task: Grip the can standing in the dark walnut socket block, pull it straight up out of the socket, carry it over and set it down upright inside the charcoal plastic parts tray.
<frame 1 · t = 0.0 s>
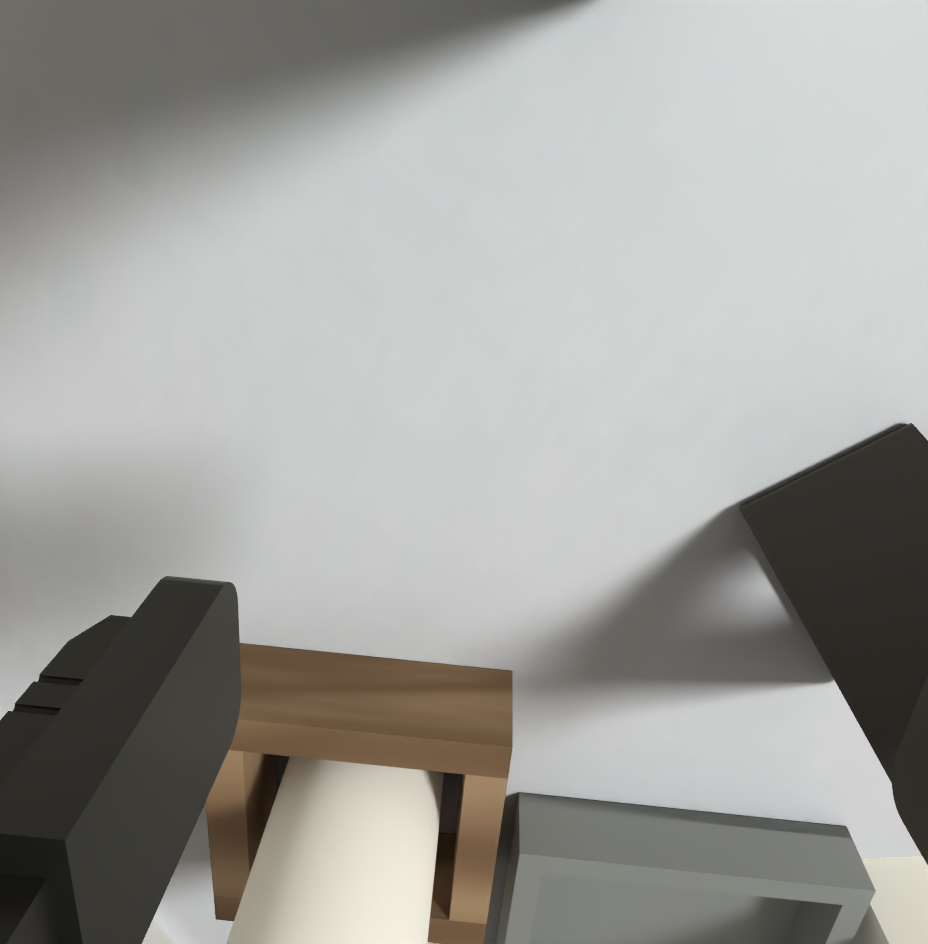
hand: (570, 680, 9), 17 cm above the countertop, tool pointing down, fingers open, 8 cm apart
phone stand: (866, 557, 28), on the countertop
parts tray: (651, 915, 37), on the countertop
can: (369, 755, 33), resting in socket block
socket block: (369, 759, 33), on the countertop
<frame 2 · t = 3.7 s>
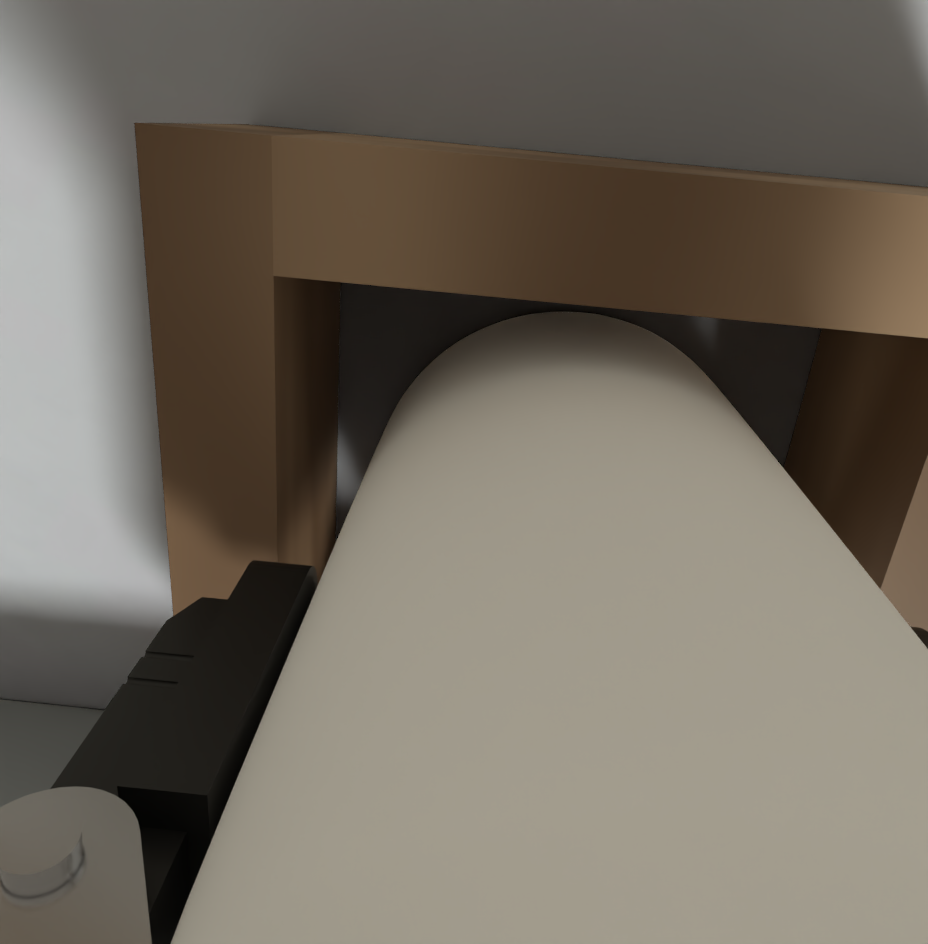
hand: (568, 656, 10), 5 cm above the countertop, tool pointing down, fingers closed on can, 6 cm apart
parts tray: (170, 931, 20), on the countertop
can: (554, 476, 15), resting in socket block, touching gripper
socket block: (554, 480, 14), on the countertop
when the fingers open (7 cm above the countertop, at t = 12.5 s): can stays where it is, resting on parts tray.
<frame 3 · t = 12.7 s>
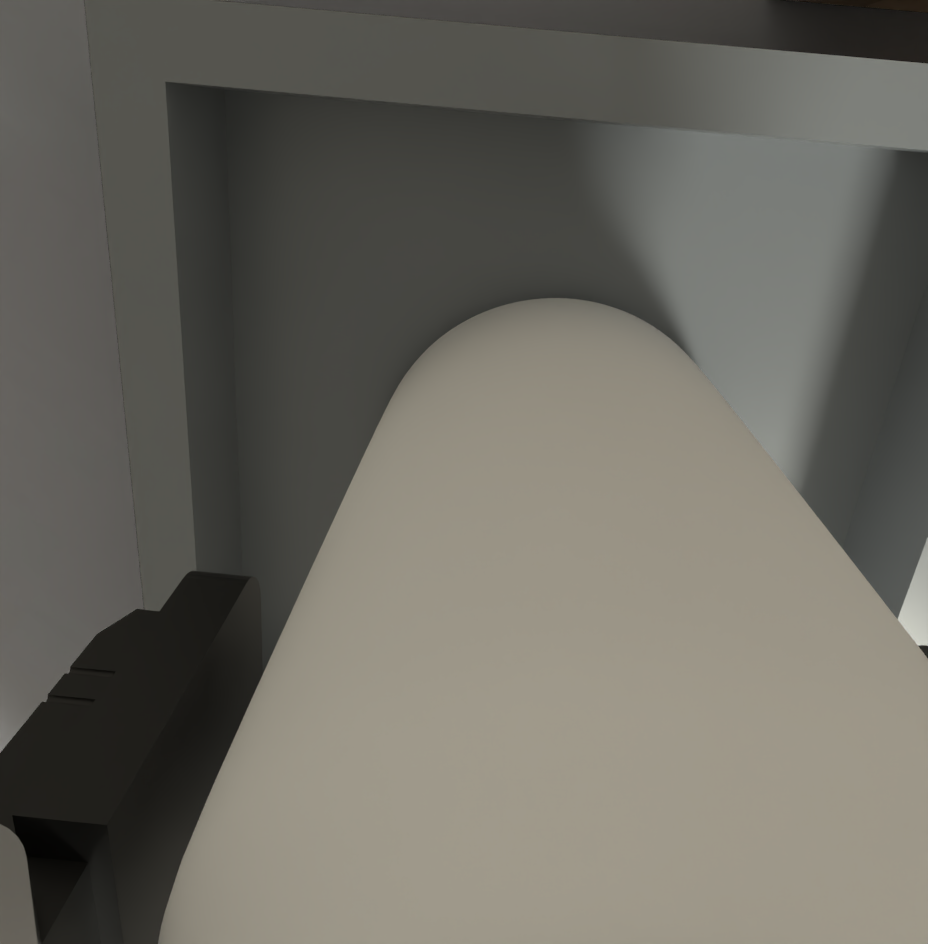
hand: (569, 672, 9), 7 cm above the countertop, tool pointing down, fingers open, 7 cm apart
parts tray: (545, 451, 16), on the countertop
can: (547, 457, 15), resting on parts tray
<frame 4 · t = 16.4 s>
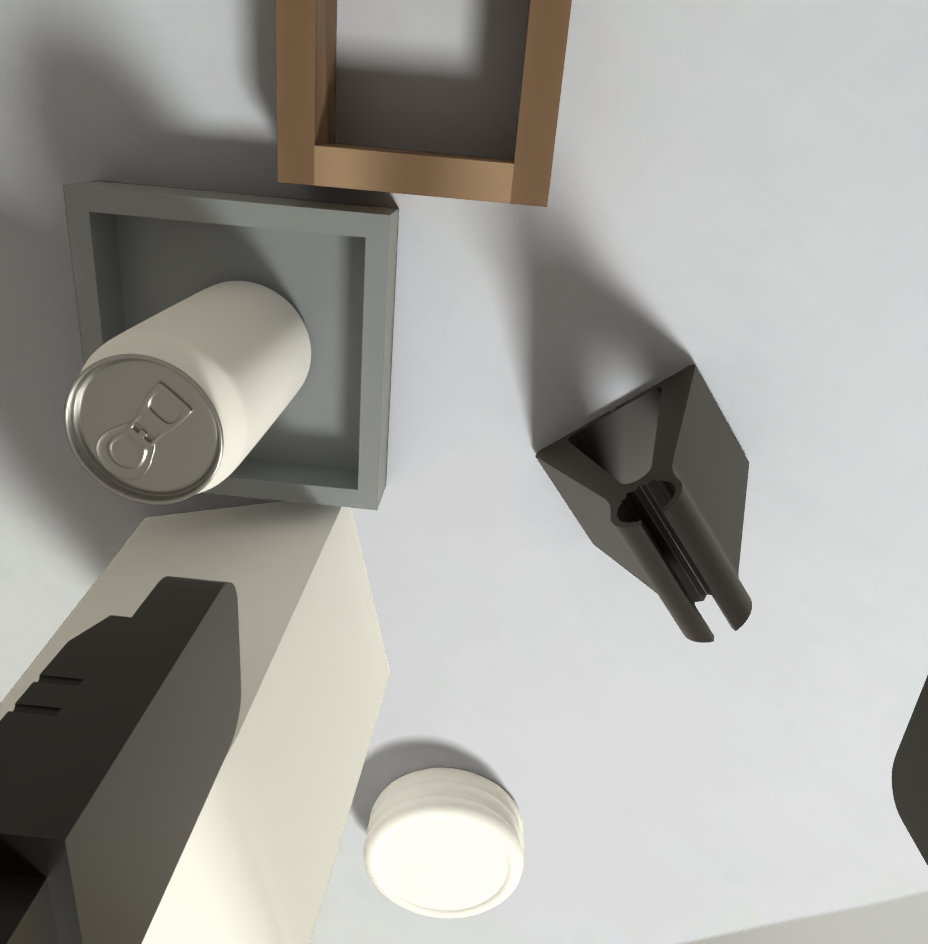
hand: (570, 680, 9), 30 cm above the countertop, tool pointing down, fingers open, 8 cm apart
phone stand: (639, 454, 40), on the countertop
white round tub: (447, 818, 52), on the countertop
parts tray: (251, 343, 39), on the countertop
can: (249, 344, 38), resting on parts tray
milk: (273, 596, 45), on the countertop
socket block: (429, 50, 33), on the countertop
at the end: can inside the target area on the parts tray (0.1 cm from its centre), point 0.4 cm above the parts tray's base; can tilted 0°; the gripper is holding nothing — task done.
